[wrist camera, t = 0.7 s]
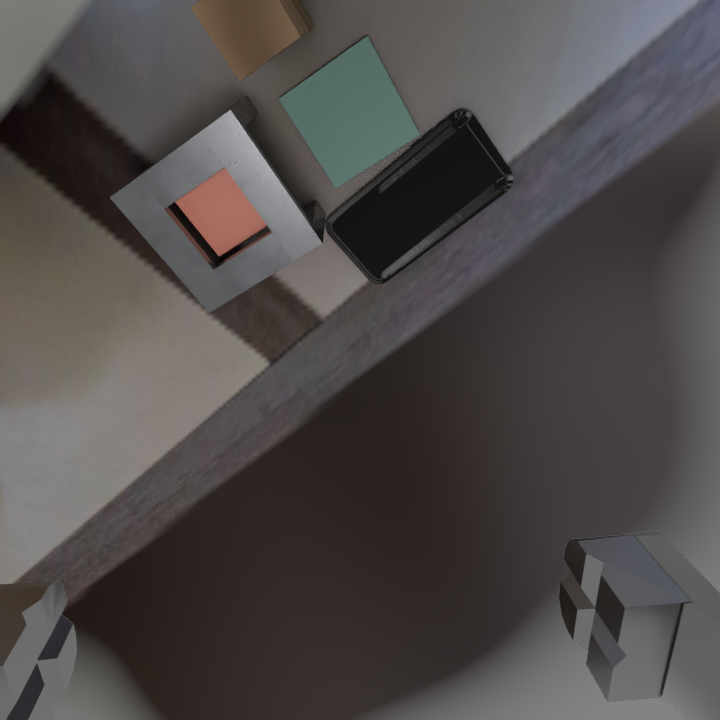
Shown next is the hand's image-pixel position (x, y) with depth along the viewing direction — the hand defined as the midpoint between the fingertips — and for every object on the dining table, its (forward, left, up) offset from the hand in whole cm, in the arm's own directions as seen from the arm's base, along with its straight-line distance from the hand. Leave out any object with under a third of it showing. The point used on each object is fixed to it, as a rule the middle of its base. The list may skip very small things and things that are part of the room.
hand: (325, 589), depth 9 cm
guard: (+11, 0, -42) cm, 44 cm away
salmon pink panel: (+11, 0, -39) cm, 41 cm away
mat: (-1, 0, -42) cm, 42 cm away
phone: (-2, +8, -43) cm, 44 cm away
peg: (0, -9, -42) cm, 43 cm away
